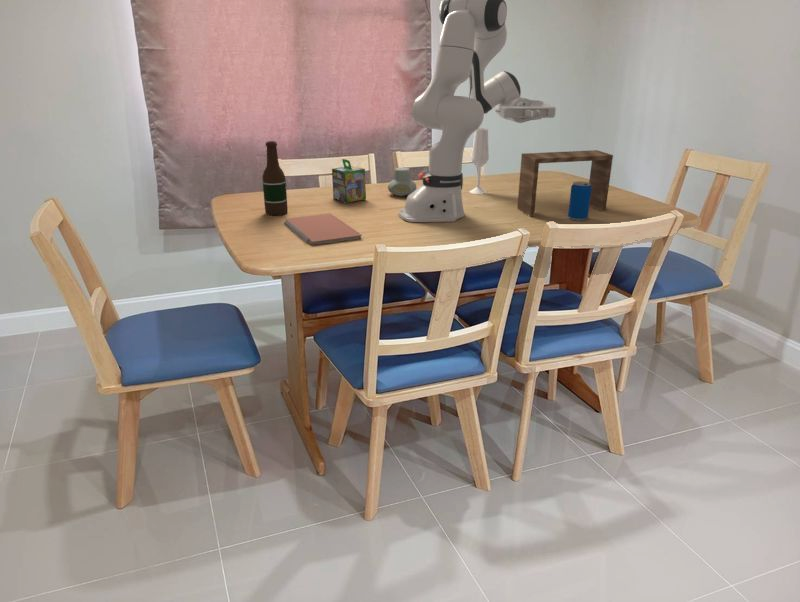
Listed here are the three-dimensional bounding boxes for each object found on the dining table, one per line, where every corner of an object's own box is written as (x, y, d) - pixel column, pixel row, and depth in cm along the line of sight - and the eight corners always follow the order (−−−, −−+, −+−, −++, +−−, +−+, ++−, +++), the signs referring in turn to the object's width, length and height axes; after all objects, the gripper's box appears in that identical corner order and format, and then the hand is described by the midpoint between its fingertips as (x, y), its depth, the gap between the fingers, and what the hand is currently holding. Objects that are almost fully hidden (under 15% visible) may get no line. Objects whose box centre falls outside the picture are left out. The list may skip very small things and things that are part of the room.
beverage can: (587, 221, 208) (592, 186, 203) (567, 220, 209) (571, 184, 204) (587, 216, 213) (591, 181, 209) (567, 215, 215) (571, 180, 210)
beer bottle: (279, 209, 220) (274, 139, 211) (292, 213, 215) (287, 141, 206) (260, 213, 215) (254, 141, 206) (273, 217, 210) (267, 144, 201)
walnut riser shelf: (529, 216, 213) (535, 158, 205) (517, 209, 222) (521, 153, 214) (605, 211, 220) (613, 155, 212) (590, 204, 229) (596, 150, 221)
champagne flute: (482, 189, 249) (485, 127, 240) (489, 193, 244) (493, 130, 234) (466, 190, 248) (469, 128, 238) (473, 194, 242) (477, 130, 232)
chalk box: (366, 200, 233) (365, 159, 227) (345, 203, 228) (344, 162, 222) (352, 195, 240) (351, 156, 234) (332, 198, 235) (330, 158, 229)
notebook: (282, 224, 205) (281, 218, 204) (330, 218, 212) (330, 212, 211) (308, 247, 183) (308, 241, 182) (362, 240, 189) (362, 234, 189)
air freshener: (386, 197, 238) (386, 170, 234) (389, 191, 245) (389, 166, 241) (415, 197, 236) (415, 171, 232) (417, 192, 244) (417, 167, 240)
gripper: (494, 101, 228) (510, 104, 215) (545, 101, 233) (563, 104, 220) (493, 119, 230) (508, 123, 218) (543, 118, 235) (561, 123, 223)
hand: (536, 114), depth 219 cm, fingers closed
